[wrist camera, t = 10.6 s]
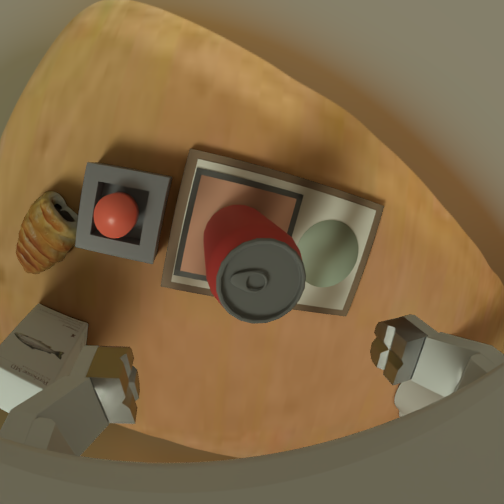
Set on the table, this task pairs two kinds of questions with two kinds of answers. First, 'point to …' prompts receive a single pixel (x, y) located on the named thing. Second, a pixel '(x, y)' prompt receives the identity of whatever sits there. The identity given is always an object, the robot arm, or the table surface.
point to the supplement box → (38, 354)
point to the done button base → (149, 203)
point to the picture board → (284, 216)
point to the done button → (116, 214)
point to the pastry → (46, 233)
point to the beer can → (252, 265)
